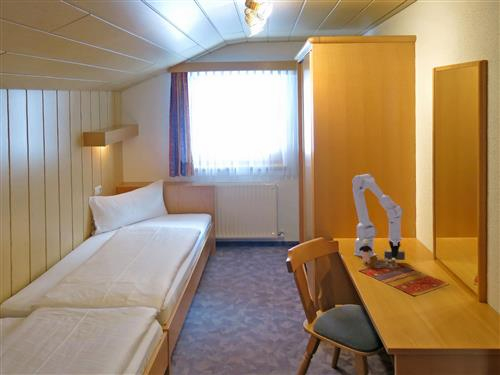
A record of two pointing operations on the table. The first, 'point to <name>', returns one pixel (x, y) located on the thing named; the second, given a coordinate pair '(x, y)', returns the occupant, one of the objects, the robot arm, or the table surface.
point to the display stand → (386, 264)
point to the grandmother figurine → (365, 251)
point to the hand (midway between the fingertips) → (394, 255)
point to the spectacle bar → (399, 257)
